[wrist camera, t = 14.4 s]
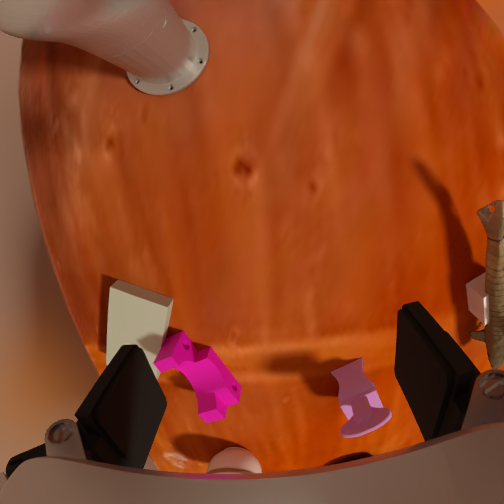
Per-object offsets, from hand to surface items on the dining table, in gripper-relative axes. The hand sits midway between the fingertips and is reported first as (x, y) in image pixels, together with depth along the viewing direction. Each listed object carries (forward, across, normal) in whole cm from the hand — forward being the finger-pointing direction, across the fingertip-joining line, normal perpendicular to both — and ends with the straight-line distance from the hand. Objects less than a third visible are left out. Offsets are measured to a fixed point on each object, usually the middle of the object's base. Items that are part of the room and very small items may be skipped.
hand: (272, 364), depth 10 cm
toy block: (+34, +16, +25) cm, 45 cm away
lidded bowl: (+34, +17, +54) cm, 66 cm away
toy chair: (+34, -10, +34) cm, 49 cm away
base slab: (+34, +26, +16) cm, 46 cm away
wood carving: (+34, -35, +19) cm, 52 cm away
